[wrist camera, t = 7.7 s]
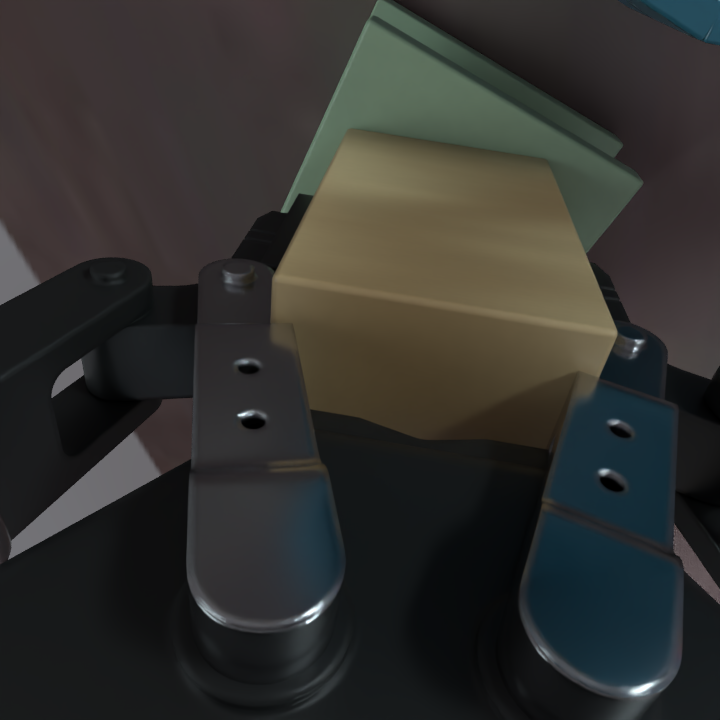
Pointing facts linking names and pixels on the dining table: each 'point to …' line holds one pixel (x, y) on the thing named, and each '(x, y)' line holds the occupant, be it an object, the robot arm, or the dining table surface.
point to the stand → (466, 115)
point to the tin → (684, 16)
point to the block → (441, 292)
